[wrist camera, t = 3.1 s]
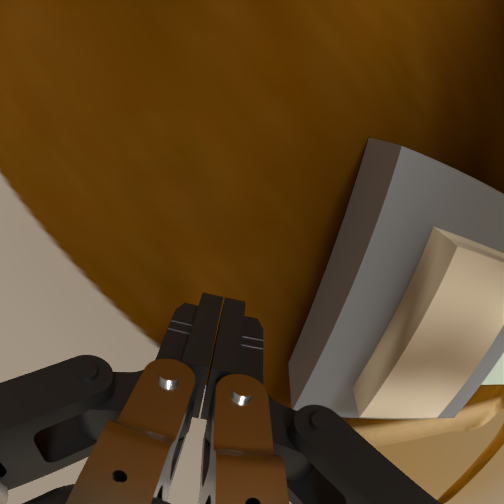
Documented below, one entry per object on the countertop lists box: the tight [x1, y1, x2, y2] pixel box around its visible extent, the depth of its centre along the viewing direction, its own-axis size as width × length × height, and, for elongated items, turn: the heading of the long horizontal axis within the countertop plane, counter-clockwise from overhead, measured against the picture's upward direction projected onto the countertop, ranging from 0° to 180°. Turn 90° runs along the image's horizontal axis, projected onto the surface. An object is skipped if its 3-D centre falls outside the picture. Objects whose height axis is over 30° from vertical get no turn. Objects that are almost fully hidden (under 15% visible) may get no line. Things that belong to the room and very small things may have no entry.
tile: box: [352, 227, 504, 418], centre depth 12 cm, size 9×5×2 cm, turn 167°
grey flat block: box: [288, 137, 504, 419], centre depth 15 cm, size 14×12×4 cm
